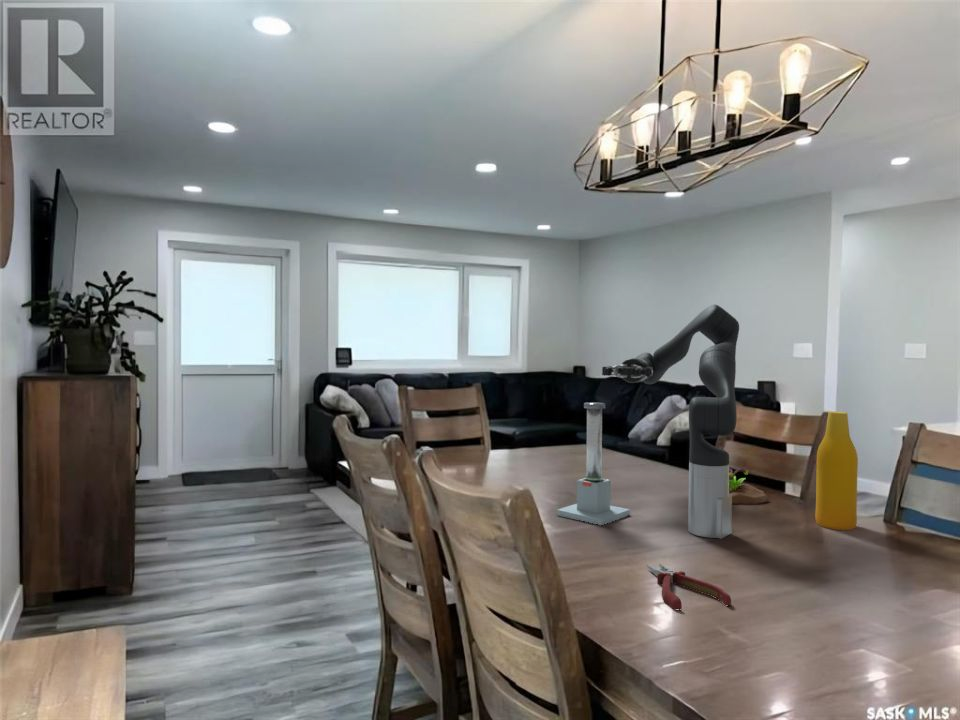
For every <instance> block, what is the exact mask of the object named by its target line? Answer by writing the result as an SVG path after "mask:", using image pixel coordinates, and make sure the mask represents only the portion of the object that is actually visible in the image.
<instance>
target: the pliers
mask: <svg viewBox="0 0 960 720" xmlns="http://www.w3.org/2000/svg"><path fill="white" fill-rule="evenodd" d="M646 567H647V568H648V569H649V570H650V571H651V572H652V573H653V574H654V575H655V576H656V577H657V585H662V584H663V585H662V587H661V598H662V600H664V601H663V602H664V603H665V602H666V603H667V604H666V603H665V604H666V605H667V606H669V605H670V606H671V607H672V608H671V607H670V606H669V607H670V608H671V609H673V608H674V609H679V610H680V609H681V610H682V608H683V606H682V604H683V603H682V601H681V598H680V597H679V596H678V595H676V594H675V593H674V592H672V590H671V586H670V585H672V584H674V583H676V584H675V585H677V584H679V585H678V586H680V585H682V586H681V587H683V586H685V587H684V588H686V587H688V588H687V589H689V588H691V589H690V590H692V589H694V590H697V591H700V592H703V593H706V594H709V595H712V596H714V597H716V598H717V599H719V600H720V601H721V602H723V603H724V604H725V605H730V606H731V604H732V598H731V595H729V594H728V593H727V592H726V591H725V590H723V589H722V588H721V587H719V586H717V585H714V584H711V583H708V582H706V581H703V580H701V579H697V578H695V577H691V576H688V575H686V572H685V571H678V572H677V571H673V569H671V568H669V567H667V566H664V565H663V564H659V567H658V566H655V565H653V564H648V563H647V564H646ZM694 590H693V591H694ZM697 591H696V592H697ZM700 592H699V593H700ZM703 593H702V594H703ZM706 594H705V595H706ZM709 595H708V596H709ZM717 599H716V600H717ZM720 601H719V602H720ZM721 602H720V603H721ZM725 605H724V606H725ZM674 609H673V610H674Z"/></svg>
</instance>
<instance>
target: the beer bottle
mask: <svg viewBox="0 0 960 720" xmlns="http://www.w3.org/2000/svg"><path fill="white" fill-rule="evenodd" d="M827 414H828V415H827V420H826V427H825V434H824V437H823V438H822V441H820V444H819V445H818V448H817V452H816V481H815V483H816V484H815V516H814V517H815V523H816V524H817V525H818V526H820V527H822V528H826V529H830V530H831V529H832V530H837V531H838V530H839V531H852V530H855V528H856V527H857V522H858V521H857V520H858V519H857V518H858V517H857V514H858V513H857V512H858V511H857V508H858V507H857V506H858V503H857V502H858V464H859V463H858V462H859V461H858V460H859V459H858V453H857V450H856V447H855V445H854V442H853V441H852V439H851V436H850V428H849V426H850V425H849V417H848V412H844V411H828V413H827Z"/></svg>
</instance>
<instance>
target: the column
mask: <svg viewBox="0 0 960 720" xmlns="http://www.w3.org/2000/svg"><path fill="white" fill-rule="evenodd" d="M583 408H584V409H586V464H585V465H586V466H585V467H586V470H585V471H586V475H585V478H586V481H589V482H594V483H598V482H601V481H602V479H603V477H602V467H603V466H602V463H603V462H602V461H603V460H602V458H603V456H602V450H603V445H602V443H603V442H602V441H603V409H606V403H604V402H593V401H592V402H584V403H583Z"/></svg>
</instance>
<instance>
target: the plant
mask: <svg viewBox="0 0 960 720" xmlns="http://www.w3.org/2000/svg"><path fill="white" fill-rule="evenodd" d="M739 472H742V473H743V474H744V475H746V476H747V475H749V471H748V470H747V469H746V468H738V469H736V470H734V471H733V469H732V468H730V465H729V494H730V495H732V505H733V504H734V505H736V504H737V505H738V504H748V505H751V504H752V505H757V504H763V503H766V502H768V495H767V494H765V491H763V490H761V489H758V488H757V487H755V486H753V485H751V484H748V483H746V482H745V480H746V477H741V478H739V479H738V480H737V476H736V474H737V473H739Z"/></svg>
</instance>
